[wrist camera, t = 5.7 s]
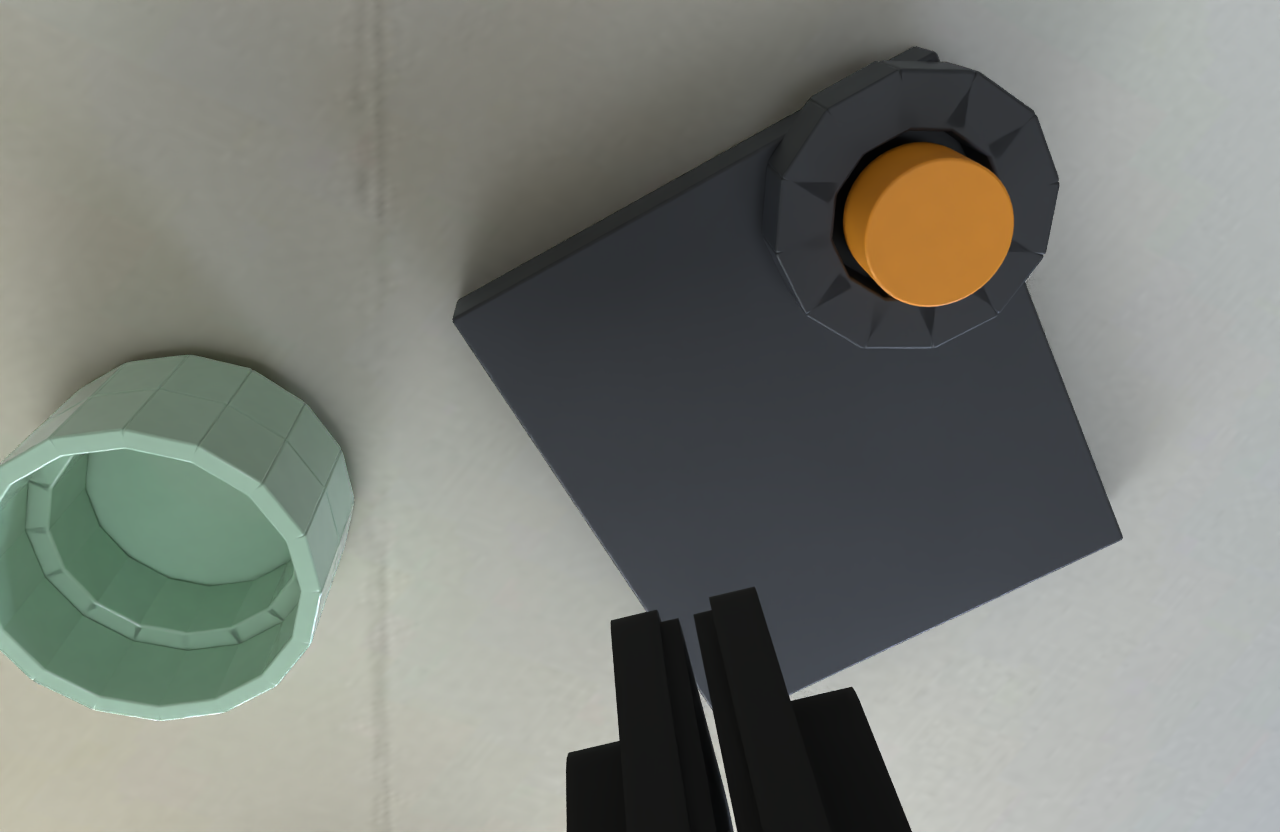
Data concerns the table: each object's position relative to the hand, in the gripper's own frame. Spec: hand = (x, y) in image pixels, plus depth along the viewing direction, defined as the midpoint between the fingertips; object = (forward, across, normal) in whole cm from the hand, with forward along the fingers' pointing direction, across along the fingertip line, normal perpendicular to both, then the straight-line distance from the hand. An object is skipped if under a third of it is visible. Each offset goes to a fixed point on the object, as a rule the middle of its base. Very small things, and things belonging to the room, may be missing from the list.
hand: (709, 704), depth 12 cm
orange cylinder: (+12, -6, -1) cm, 13 cm away
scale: (+14, -4, +4) cm, 15 cm away
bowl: (+14, +11, +2) cm, 19 cm away
